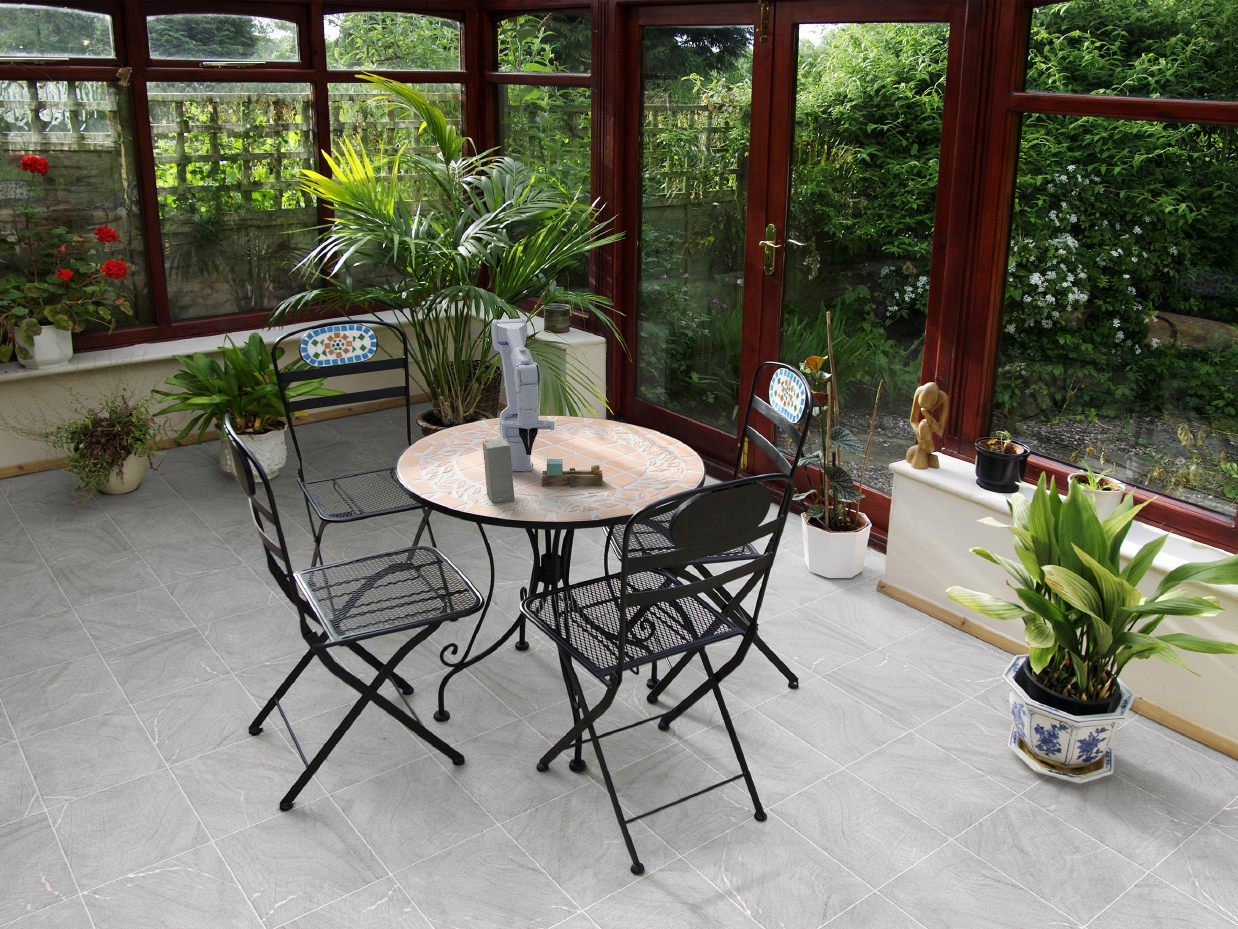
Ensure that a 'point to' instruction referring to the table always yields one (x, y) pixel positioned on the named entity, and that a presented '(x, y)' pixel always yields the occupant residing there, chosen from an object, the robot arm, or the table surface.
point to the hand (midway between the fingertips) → (528, 453)
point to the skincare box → (498, 470)
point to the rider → (554, 467)
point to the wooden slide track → (575, 478)
